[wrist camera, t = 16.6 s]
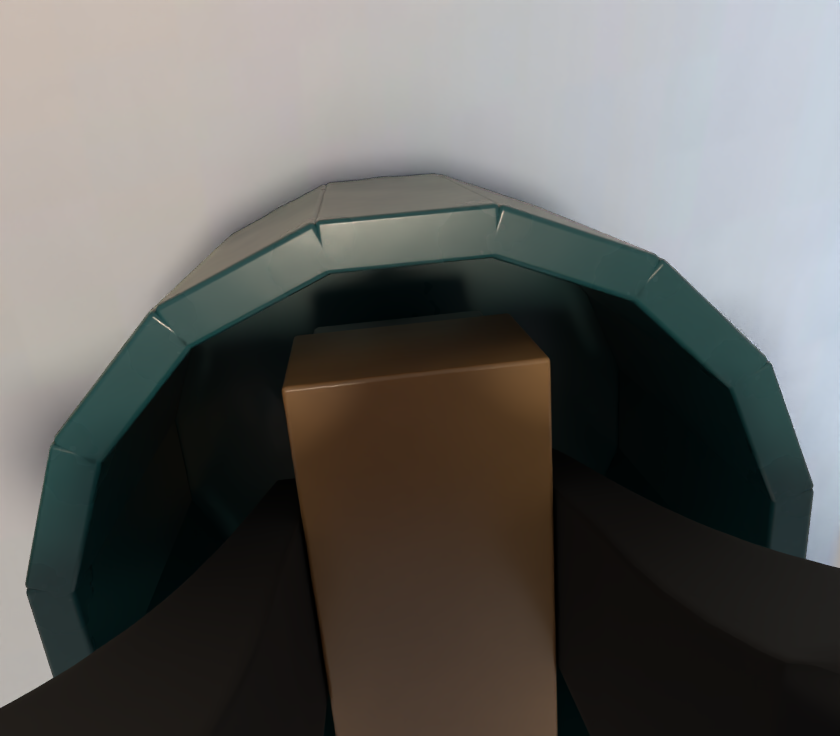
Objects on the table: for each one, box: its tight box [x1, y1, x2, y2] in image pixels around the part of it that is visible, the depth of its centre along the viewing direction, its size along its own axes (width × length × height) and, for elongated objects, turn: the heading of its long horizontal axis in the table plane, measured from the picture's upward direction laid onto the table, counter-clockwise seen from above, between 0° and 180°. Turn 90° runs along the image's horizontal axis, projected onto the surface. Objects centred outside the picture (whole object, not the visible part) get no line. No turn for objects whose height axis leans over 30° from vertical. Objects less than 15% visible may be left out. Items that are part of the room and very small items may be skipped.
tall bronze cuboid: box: [282, 311, 558, 736], centre depth 11 cm, size 3×6×4 cm, turn 5°
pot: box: [25, 174, 813, 736], centre depth 12 cm, size 10×10×6 cm
